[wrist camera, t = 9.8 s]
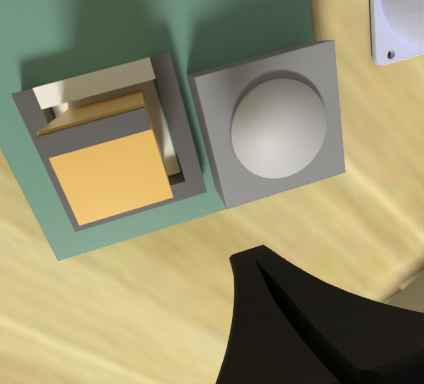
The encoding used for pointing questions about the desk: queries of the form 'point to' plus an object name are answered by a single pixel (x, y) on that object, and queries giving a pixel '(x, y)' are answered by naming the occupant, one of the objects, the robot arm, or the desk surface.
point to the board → (172, 101)
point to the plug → (106, 157)
